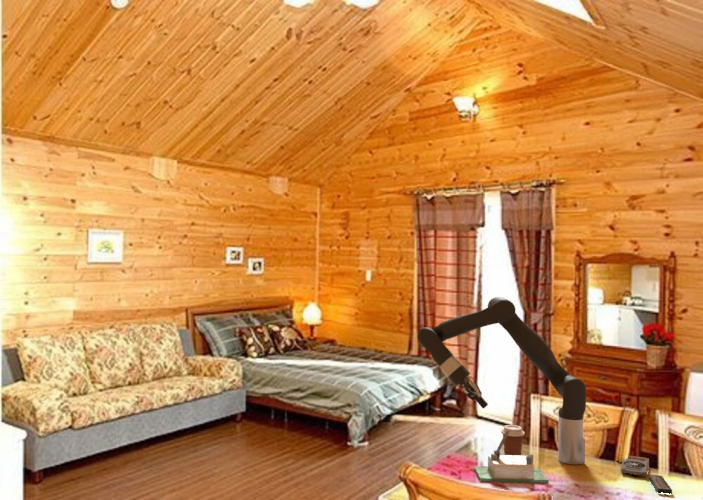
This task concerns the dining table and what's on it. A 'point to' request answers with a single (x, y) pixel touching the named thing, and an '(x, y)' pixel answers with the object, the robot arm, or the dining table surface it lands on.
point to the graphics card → (635, 466)
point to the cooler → (510, 469)
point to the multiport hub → (660, 484)
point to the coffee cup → (513, 440)
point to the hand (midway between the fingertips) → (485, 406)
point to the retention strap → (502, 442)
